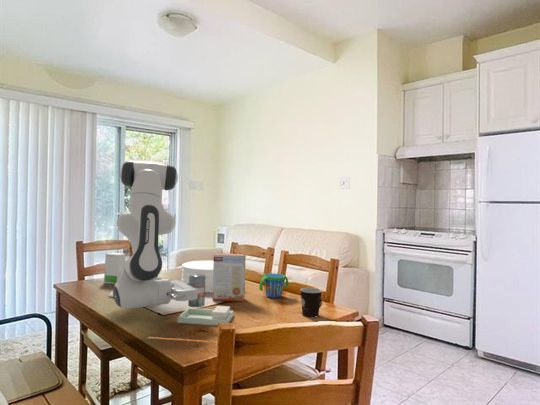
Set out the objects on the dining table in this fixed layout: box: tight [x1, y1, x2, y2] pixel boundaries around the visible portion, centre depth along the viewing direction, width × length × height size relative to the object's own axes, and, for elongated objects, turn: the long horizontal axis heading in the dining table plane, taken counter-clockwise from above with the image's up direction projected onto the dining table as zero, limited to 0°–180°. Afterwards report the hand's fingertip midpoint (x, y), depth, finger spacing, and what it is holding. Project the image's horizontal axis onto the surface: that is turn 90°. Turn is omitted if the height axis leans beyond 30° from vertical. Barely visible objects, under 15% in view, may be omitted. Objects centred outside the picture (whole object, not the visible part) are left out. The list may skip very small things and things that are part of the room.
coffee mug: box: [300, 287, 323, 318], centre depth 146 cm, size 12×9×10 cm
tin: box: [187, 274, 206, 308], centre depth 137 cm, size 6×6×11 cm
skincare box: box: [103, 251, 126, 285], centre depth 194 cm, size 8×7×16 cm
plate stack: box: [180, 260, 214, 293], centre depth 193 cm, size 28×28×12 cm
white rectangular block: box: [212, 305, 231, 320], centre depth 136 cm, size 5×8×4 cm, turn 175°
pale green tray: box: [177, 307, 234, 326], centre depth 136 cm, size 18×12×2 cm, turn 85°
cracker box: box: [212, 252, 247, 303], centre depth 167 cm, size 14×6×21 cm, turn 84°
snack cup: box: [259, 273, 289, 299], centre depth 175 cm, size 16×10×10 cm
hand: (199, 287), depth 137 cm, fingers closed on tin, 6 cm apart
